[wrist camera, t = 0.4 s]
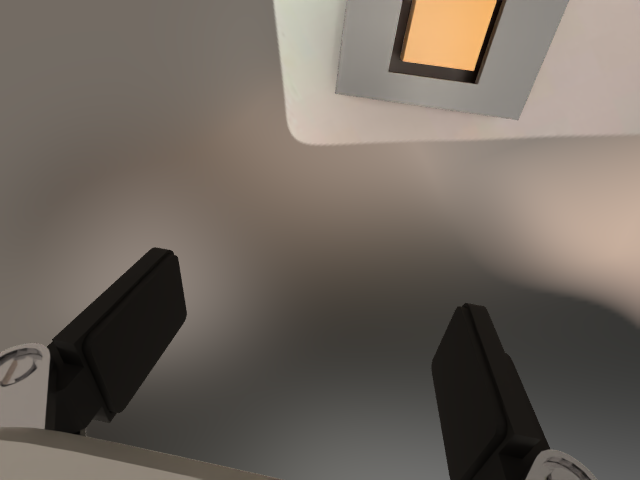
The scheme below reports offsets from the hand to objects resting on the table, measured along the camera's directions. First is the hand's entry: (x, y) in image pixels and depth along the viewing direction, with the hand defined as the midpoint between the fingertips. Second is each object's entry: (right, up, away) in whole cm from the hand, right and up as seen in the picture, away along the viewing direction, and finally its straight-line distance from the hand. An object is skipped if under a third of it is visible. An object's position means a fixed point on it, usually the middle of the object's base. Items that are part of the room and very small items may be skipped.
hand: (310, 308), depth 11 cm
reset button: (+11, +21, +17) cm, 29 cm away
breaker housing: (+11, +22, +19) cm, 31 cm away
